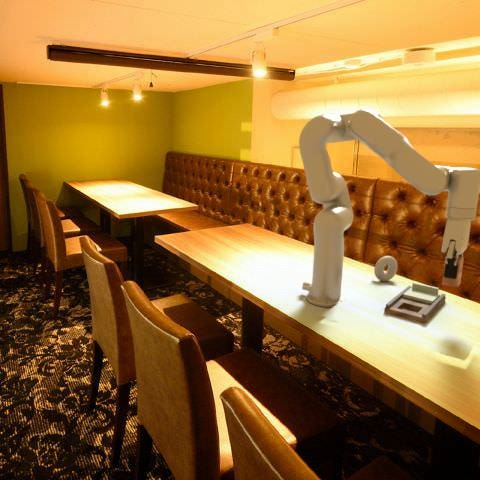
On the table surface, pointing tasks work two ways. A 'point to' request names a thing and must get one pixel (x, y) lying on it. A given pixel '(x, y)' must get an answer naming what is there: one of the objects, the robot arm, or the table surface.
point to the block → (457, 281)
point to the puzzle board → (413, 307)
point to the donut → (390, 271)
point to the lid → (422, 293)
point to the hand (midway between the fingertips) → (452, 275)
